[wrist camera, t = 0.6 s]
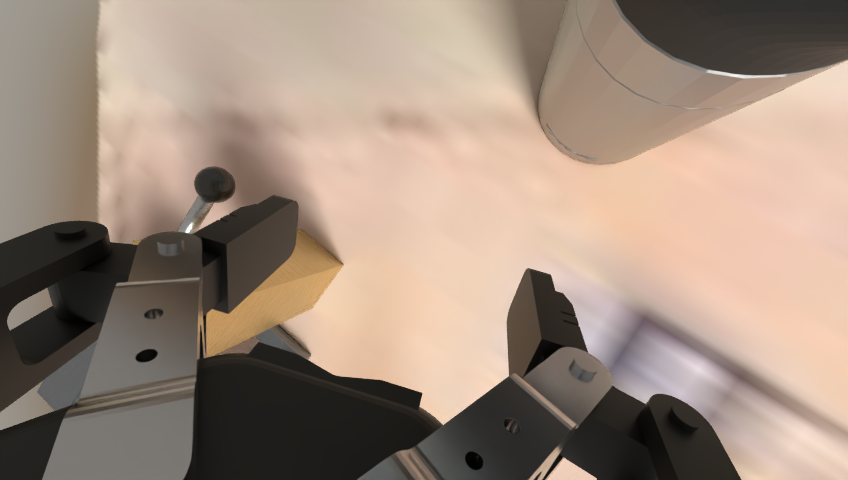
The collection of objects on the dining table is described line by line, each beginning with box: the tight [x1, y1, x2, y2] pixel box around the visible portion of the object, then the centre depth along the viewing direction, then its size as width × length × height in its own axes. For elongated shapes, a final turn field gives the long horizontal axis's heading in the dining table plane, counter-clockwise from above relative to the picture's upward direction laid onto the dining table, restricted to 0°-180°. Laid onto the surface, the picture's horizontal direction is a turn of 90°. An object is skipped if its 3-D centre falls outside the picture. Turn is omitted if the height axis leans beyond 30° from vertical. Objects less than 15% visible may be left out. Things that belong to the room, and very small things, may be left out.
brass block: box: [133, 229, 343, 357], centre depth 25 cm, size 5×5×15 cm
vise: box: [37, 167, 311, 411], centre depth 30 cm, size 24×15×8 cm, turn 142°
